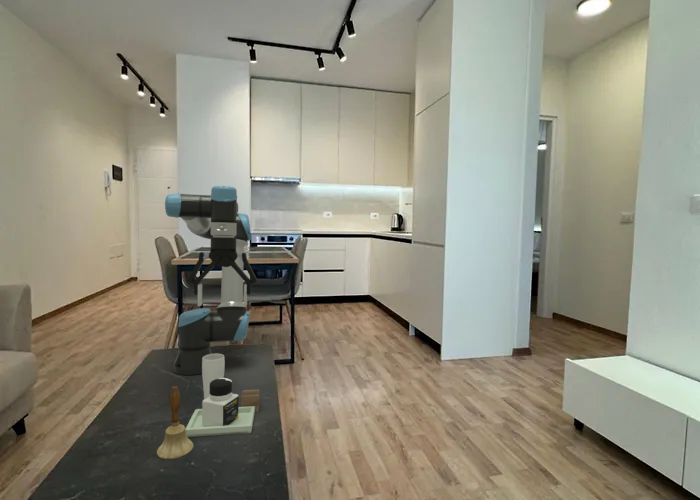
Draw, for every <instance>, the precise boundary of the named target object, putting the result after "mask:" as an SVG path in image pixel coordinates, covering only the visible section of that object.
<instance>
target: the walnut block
mask: <svg viewBox="0 0 700 500" xmlns="http://www.w3.org/2000/svg"><path fill="white" fill-rule="evenodd" d="M260 392H261V390H260V389H257V388H256V389H243V390H242V394H241V399H240V403H241V405H240V407H249V406H255V413H259V409H260V402H261V401H260V400H261V398H260V397H261V396H260V394H261V393H260Z"/></svg>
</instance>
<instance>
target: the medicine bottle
mask: <svg viewBox="0 0 700 500" xmlns="http://www.w3.org/2000/svg"><path fill="white" fill-rule="evenodd" d="M239 397H240V396H239V394H237V393H233V381H232V379H229V378H227V377H224V378H218V379H215V380H213V381H211V383H210V397H208V398H206V399H205V400H204V399H203V400H202V403H201V406H202V407H201V409H202V425H203V426H207V427H212V426H229V425H230V424H232V423H233V422H234V421H236V420H237V419H238V407H239V404H240V403H239V399H240V398H239Z"/></svg>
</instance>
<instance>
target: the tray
mask: <svg viewBox="0 0 700 500" xmlns="http://www.w3.org/2000/svg"><path fill="white" fill-rule="evenodd" d="M255 413H256V412H255V406H249V407H241V406H238V419H237V420H236V421H234V422H233V423H232V424H230V425H229V426H212V427H207V426H203V425H202V408H196V409H195V410H194V412H193V413H192V415H191V418H190V419H189V421H188V424H187V425H186V427H185V430H186V435H187V438H198V437H211V436H213V437H214V436H227V435H228V436H230V435H242V434H243V435H244V434H245V435H246V434H252V430H253V425H254V418H255Z"/></svg>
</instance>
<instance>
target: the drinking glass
mask: <svg viewBox="0 0 700 500" xmlns="http://www.w3.org/2000/svg"><path fill="white" fill-rule="evenodd" d="M225 361H226V360H225V355H224V354H222V353H212V354H208V355H205V356H203V358H202V373H201V375H202V385H203V387H202V389H203V400H205V399H206V398H208V397H210V383H211V381H213V380H215V379H218V378H225V365H226V362H225Z"/></svg>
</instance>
